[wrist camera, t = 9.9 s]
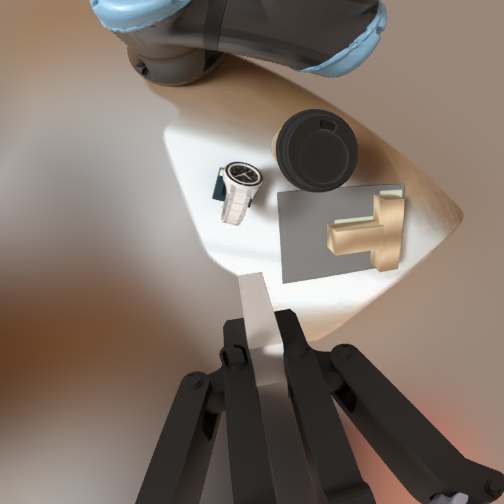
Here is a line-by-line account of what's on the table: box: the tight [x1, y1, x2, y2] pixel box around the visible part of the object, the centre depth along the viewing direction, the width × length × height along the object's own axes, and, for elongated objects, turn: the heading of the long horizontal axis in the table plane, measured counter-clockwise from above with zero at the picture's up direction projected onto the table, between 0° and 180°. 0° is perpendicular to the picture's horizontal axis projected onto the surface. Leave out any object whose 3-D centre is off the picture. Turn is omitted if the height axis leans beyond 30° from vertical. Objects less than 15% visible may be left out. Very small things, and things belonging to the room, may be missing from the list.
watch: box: [212, 162, 264, 226], centre depth 37 cm, size 6×8×11 cm
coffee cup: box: [271, 109, 358, 193], centre depth 34 cm, size 9×9×15 cm
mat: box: [277, 184, 404, 284], centre depth 47 cm, size 16×24×1 cm, turn 96°
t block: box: [327, 194, 405, 272], centre depth 45 cm, size 13×13×4 cm
